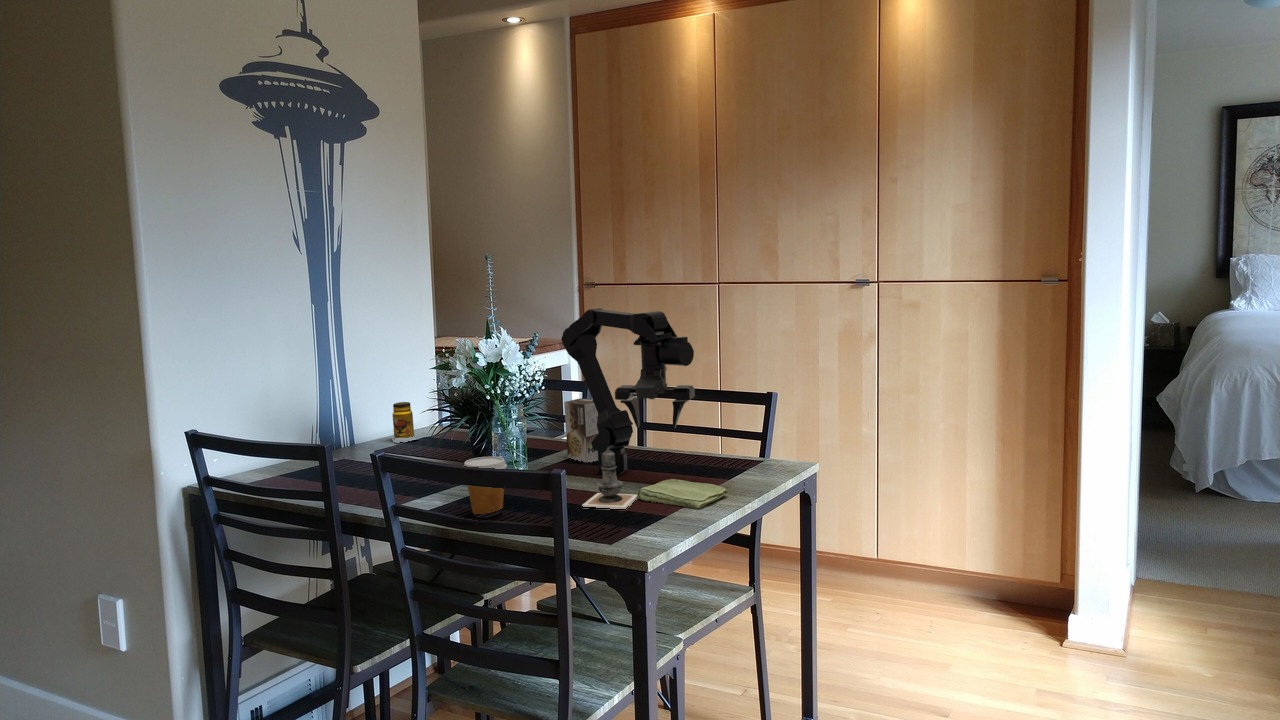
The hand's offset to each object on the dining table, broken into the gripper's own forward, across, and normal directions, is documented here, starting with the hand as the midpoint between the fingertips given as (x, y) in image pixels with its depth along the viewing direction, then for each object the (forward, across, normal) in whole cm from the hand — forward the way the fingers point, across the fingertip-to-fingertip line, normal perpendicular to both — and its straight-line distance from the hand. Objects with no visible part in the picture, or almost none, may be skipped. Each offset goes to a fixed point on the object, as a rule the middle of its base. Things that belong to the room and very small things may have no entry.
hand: (656, 427), depth 220 cm
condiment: (+13, -93, +36) cm, 101 cm away
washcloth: (+14, +10, -15) cm, 22 cm away
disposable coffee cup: (+13, -29, -34) cm, 47 cm away
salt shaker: (+12, -5, -21) cm, 25 cm away
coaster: (+13, -5, -21) cm, 25 cm away
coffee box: (+13, -26, +19) cm, 35 cm away
